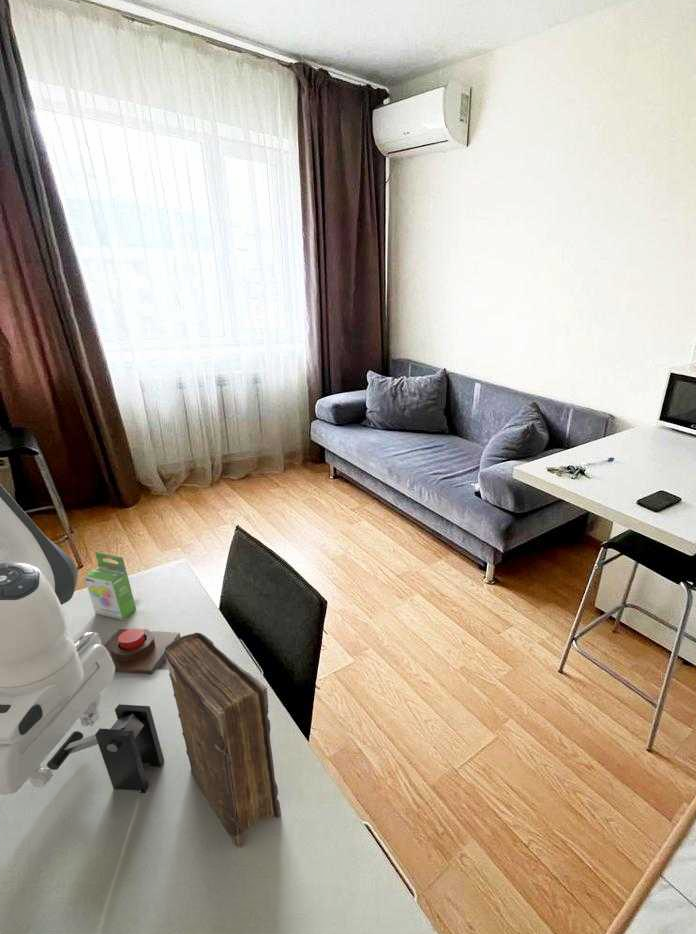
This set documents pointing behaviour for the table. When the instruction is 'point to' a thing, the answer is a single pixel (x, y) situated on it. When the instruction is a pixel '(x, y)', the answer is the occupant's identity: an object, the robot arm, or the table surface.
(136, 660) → the button block
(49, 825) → the table surface
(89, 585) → the ink box
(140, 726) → the lever
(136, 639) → the button
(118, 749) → the bracket
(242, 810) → the book
